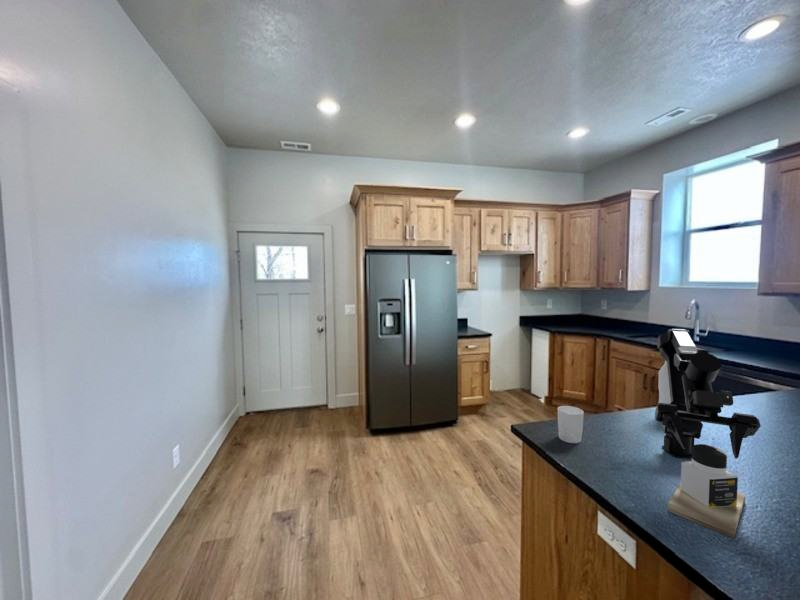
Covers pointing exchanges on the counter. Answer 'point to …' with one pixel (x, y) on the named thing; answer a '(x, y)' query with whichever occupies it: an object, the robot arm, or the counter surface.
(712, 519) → the tan flat slab
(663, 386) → the water bottle
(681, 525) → the counter surface
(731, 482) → the medicine bottle
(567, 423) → the white cup
